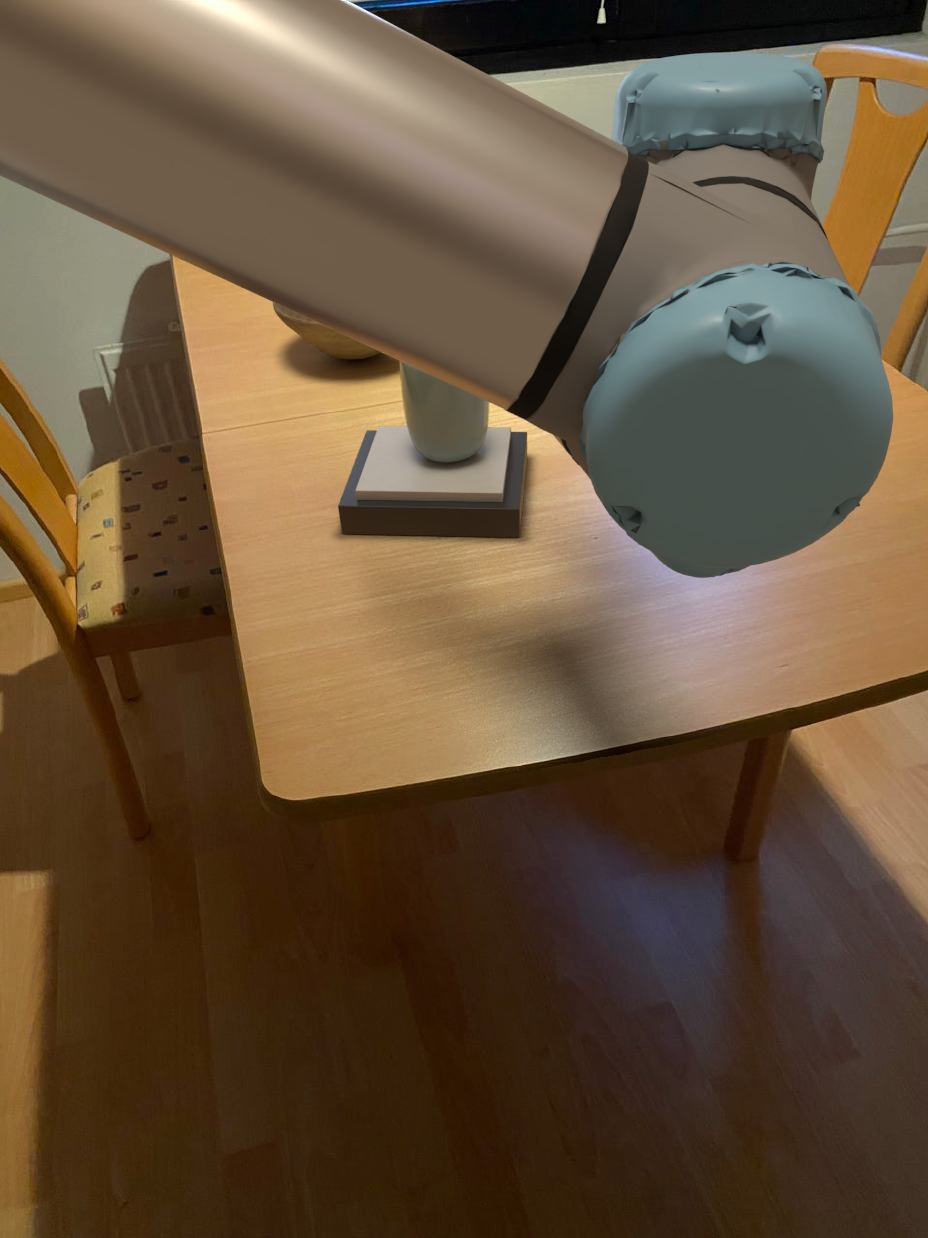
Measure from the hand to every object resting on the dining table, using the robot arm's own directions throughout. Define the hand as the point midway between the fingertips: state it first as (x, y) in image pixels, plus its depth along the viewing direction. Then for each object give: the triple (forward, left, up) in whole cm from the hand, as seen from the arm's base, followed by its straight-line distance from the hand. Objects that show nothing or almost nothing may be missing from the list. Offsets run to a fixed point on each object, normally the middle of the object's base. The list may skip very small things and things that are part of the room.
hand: (472, 252), depth 66 cm
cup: (-4, +9, -21) cm, 23 cm away
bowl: (-19, +40, -25) cm, 51 cm away
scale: (-5, +8, -25) cm, 27 cm away
